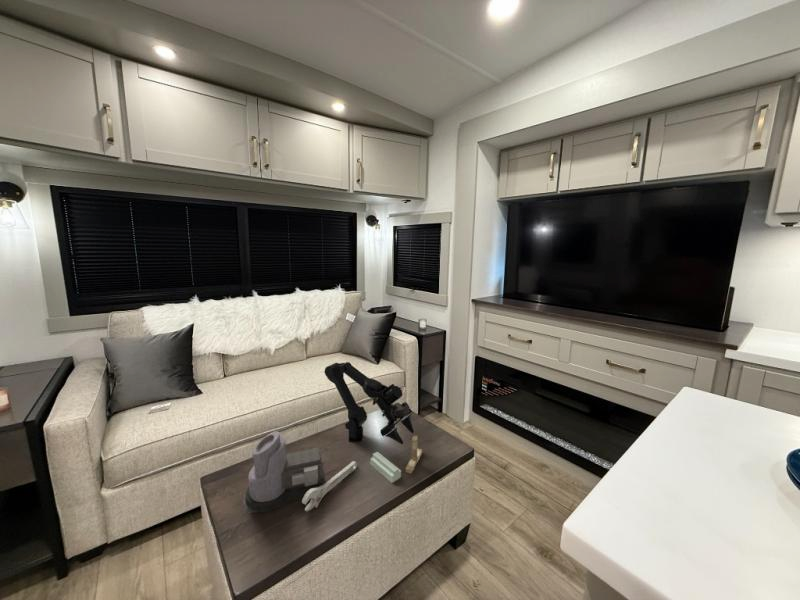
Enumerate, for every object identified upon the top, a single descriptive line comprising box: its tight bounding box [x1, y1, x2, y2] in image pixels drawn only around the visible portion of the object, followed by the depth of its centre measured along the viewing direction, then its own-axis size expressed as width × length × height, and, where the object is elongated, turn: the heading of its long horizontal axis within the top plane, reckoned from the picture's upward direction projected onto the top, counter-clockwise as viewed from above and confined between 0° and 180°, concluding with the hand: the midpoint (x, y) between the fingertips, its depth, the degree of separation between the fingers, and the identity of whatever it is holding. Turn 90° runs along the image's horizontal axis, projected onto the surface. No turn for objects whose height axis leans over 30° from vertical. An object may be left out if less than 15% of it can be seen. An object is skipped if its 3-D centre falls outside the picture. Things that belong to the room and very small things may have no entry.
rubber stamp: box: [405, 434, 423, 475], centre depth 136 cm, size 14×2×12 cm, turn 157°
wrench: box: [301, 460, 358, 512], centre depth 120 cm, size 8×2×30 cm
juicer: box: [241, 430, 326, 514], centre depth 118 cm, size 30×16×24 cm, turn 110°
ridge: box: [369, 451, 402, 484], centre depth 131 cm, size 14×5×4 cm, turn 43°
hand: (408, 438), depth 136 cm, fingers open, 9 cm apart
